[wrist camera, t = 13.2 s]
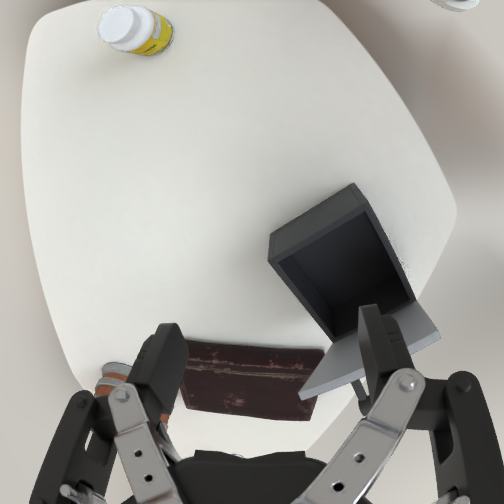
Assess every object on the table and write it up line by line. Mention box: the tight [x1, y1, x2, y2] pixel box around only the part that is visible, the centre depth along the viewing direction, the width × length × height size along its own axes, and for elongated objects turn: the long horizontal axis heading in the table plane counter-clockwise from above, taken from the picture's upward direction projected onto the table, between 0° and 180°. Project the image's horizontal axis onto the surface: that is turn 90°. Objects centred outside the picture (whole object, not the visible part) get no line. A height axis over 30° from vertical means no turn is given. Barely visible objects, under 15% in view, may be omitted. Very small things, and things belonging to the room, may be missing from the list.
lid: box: [298, 301, 441, 416], centre depth 28 cm, size 16×13×5 cm
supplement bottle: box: [98, 5, 174, 56], centre depth 23 cm, size 5×5×10 cm
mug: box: [90, 363, 174, 433], centre depth 53 cm, size 14×19×15 cm
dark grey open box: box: [268, 183, 417, 343], centre depth 37 cm, size 16×13×7 cm
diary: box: [180, 340, 325, 421], centre depth 51 cm, size 19×25×5 cm
